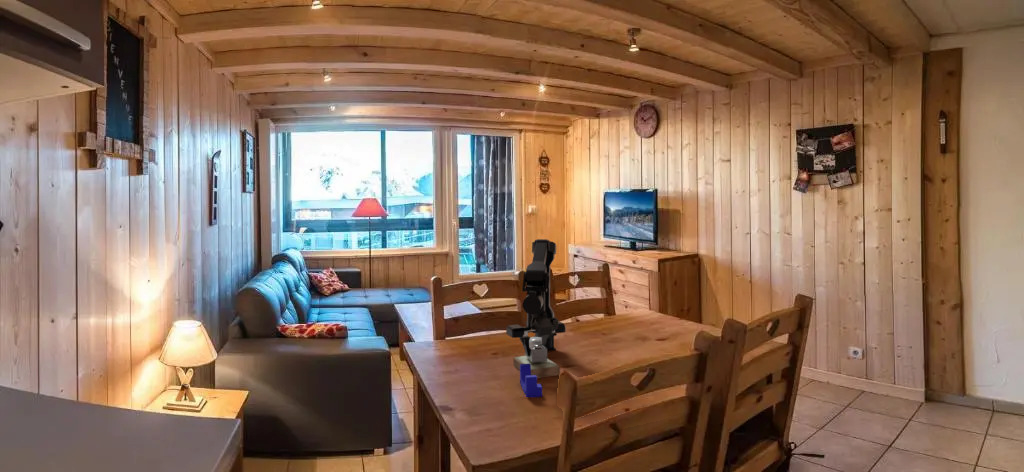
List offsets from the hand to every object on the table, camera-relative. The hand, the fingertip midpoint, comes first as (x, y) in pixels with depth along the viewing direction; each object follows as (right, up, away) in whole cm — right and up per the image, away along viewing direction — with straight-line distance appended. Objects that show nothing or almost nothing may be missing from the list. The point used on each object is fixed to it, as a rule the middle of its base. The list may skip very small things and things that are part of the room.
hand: (536, 355), depth 172 cm
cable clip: (-2, -7, -17) cm, 18 cm away
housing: (0, -1, 0) cm, 1 cm away
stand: (0, -5, 0) cm, 5 cm away
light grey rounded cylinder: (0, -4, +12) cm, 13 cm away
